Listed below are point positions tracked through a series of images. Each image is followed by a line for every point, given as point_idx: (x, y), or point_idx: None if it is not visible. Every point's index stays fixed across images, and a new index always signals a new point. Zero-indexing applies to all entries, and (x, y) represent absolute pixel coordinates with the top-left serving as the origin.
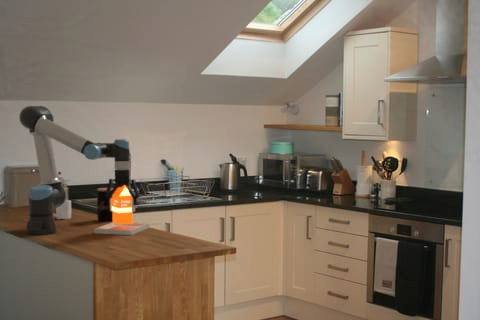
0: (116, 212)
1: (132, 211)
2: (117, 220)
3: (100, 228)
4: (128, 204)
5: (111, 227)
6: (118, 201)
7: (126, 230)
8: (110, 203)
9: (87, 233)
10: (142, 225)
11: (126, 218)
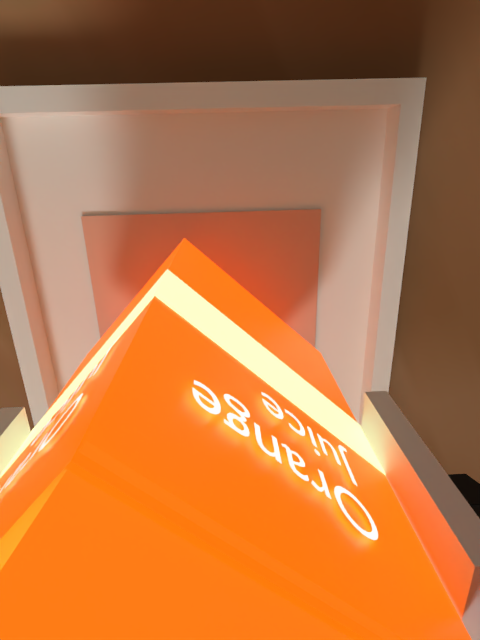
0: (248, 334)
1: (10, 411)
2: (220, 280)
3: (386, 194)
4: (13, 472)
5: (333, 358)
6: (147, 371)
7: (13, 86)
8: (430, 472)
9: (473, 51)
10: (41, 413)
11: (113, 327)
